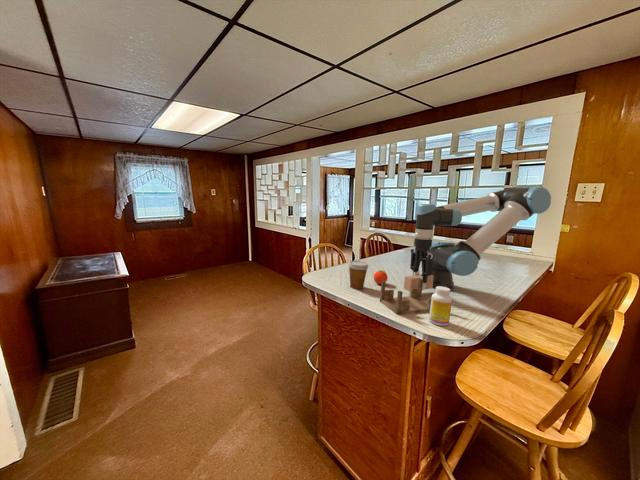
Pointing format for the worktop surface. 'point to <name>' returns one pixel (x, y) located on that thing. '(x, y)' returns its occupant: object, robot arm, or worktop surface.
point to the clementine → (380, 277)
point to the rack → (405, 300)
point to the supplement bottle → (440, 306)
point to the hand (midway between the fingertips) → (418, 287)
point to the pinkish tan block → (417, 282)
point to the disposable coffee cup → (357, 274)
